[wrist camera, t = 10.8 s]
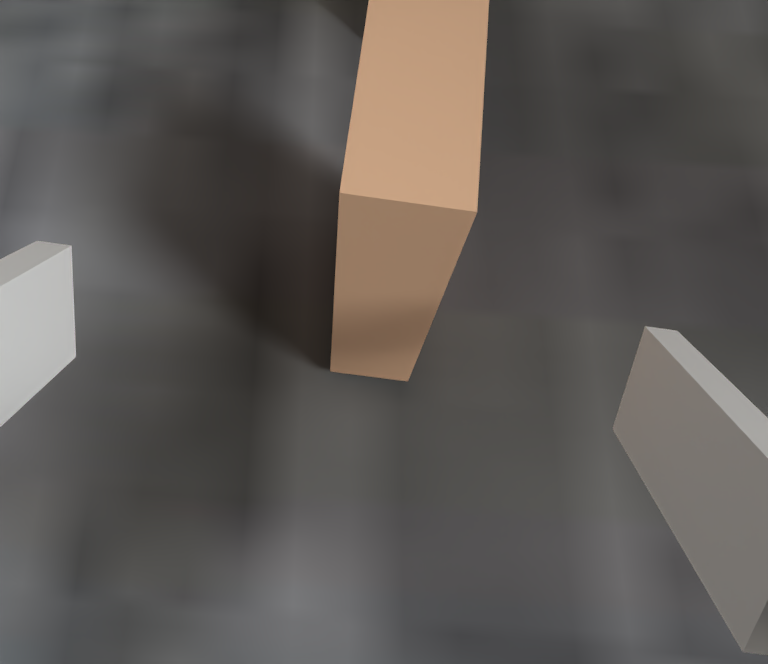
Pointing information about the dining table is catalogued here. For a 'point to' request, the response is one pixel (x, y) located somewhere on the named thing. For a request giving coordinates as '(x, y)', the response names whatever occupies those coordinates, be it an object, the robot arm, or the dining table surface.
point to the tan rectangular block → (407, 178)
